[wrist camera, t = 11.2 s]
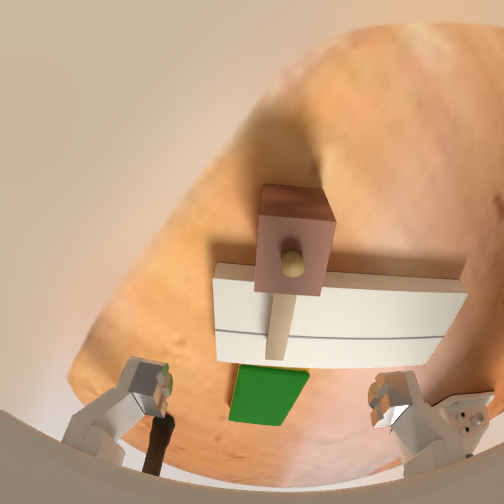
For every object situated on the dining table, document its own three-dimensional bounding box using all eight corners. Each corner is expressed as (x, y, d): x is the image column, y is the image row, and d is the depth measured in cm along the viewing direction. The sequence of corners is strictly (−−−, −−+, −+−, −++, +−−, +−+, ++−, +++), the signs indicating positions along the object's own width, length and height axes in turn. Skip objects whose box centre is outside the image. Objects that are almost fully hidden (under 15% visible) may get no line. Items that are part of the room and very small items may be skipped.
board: (459, 279, 21) (468, 293, 20) (420, 350, 27) (425, 364, 25) (217, 262, 22) (212, 278, 21) (220, 345, 28) (217, 361, 26)
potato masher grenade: (131, 402, 38) (86, 560, 13) (180, 408, 37) (141, 585, 12) (153, 424, 43) (119, 564, 17) (197, 430, 41) (169, 581, 16)
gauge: (322, 189, 19) (339, 229, 14) (297, 326, 26) (299, 379, 21) (263, 183, 19) (257, 222, 14) (253, 323, 26) (247, 376, 21)
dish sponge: (309, 356, 28) (310, 375, 26) (280, 412, 36) (280, 426, 34) (241, 348, 28) (239, 367, 26) (230, 406, 36) (228, 421, 34)
